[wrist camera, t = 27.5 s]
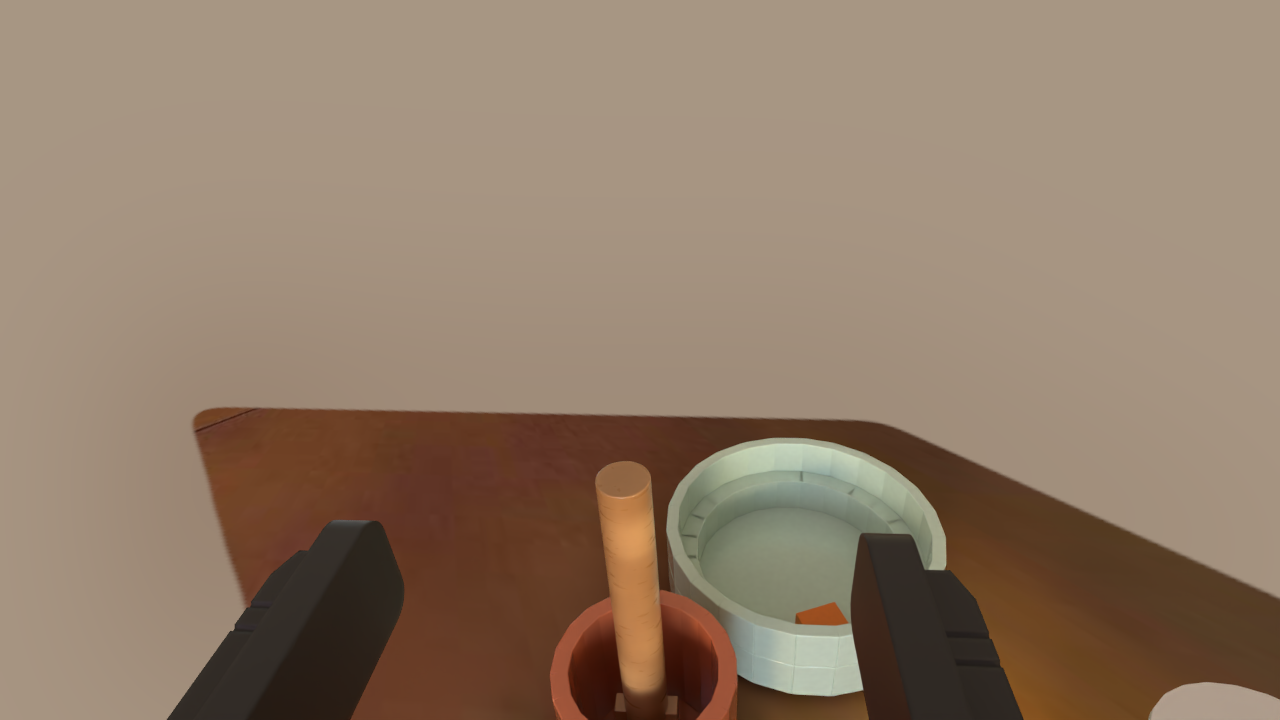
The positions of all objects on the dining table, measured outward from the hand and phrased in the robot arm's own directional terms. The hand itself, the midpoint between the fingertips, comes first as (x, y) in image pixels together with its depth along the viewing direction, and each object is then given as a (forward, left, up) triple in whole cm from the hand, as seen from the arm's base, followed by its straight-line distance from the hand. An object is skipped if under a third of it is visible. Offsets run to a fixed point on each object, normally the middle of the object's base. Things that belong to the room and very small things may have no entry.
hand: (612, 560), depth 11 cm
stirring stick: (+2, -12, -29) cm, 31 cm away
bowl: (-7, -25, -30) cm, 39 cm away
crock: (+2, -12, -30) cm, 32 cm away
